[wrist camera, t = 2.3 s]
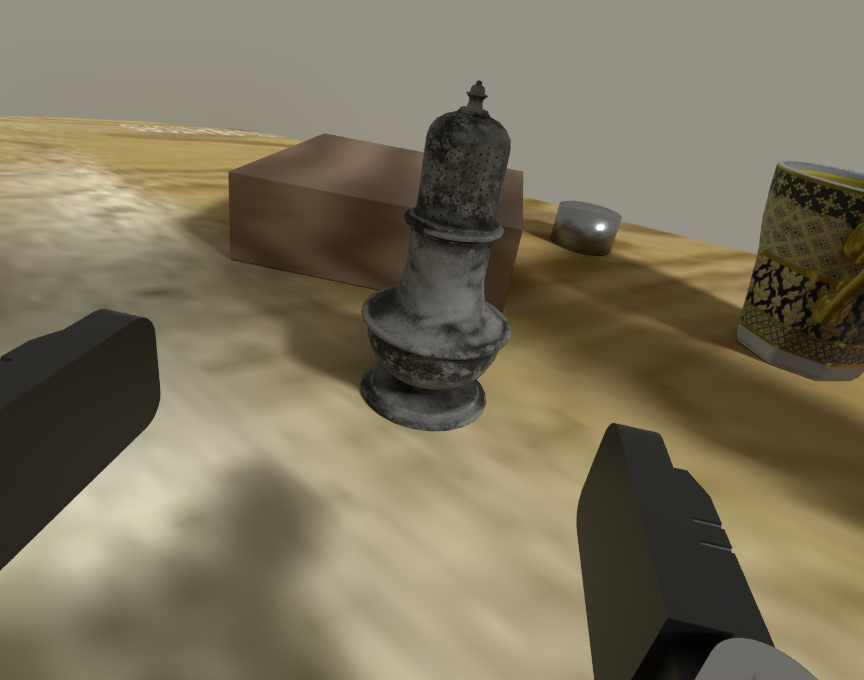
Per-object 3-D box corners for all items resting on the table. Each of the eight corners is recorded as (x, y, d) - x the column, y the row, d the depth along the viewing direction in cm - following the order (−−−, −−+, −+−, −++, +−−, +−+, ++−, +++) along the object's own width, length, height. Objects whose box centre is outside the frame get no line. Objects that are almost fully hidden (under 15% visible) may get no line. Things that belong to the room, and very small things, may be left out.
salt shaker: (520, 412, 23) (610, 104, 17) (402, 453, 19) (464, 87, 14) (439, 345, 27) (489, 76, 21) (329, 369, 23) (352, 57, 18)
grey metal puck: (605, 242, 47) (616, 208, 46) (614, 261, 43) (626, 224, 41) (548, 231, 48) (558, 197, 46) (551, 249, 43) (561, 212, 42)
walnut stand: (509, 233, 45) (523, 171, 42) (501, 315, 31) (522, 229, 28) (321, 195, 46) (324, 133, 43) (230, 258, 32) (228, 171, 29)
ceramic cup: (715, 299, 38) (780, 154, 34) (879, 353, 34) (980, 197, 30) (686, 370, 28) (773, 177, 24) (913, 458, 24) (1076, 247, 20)
